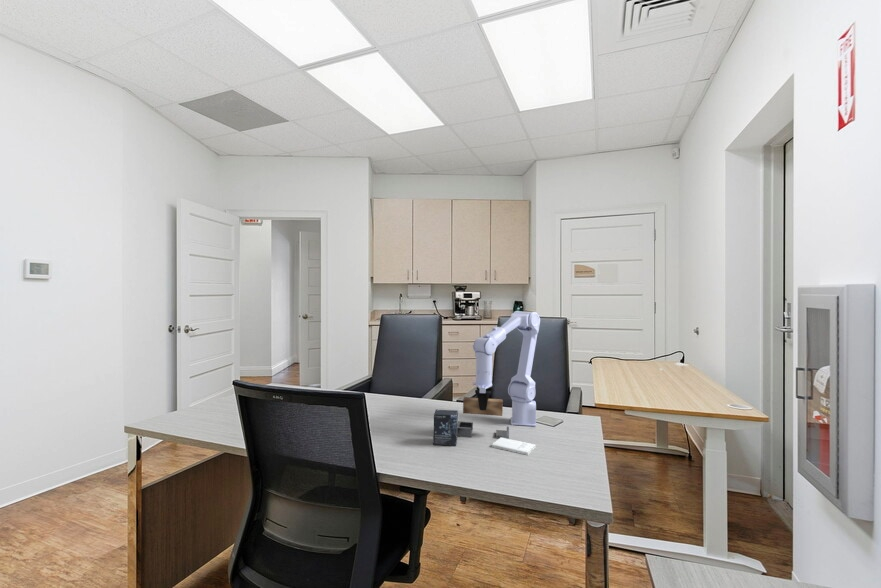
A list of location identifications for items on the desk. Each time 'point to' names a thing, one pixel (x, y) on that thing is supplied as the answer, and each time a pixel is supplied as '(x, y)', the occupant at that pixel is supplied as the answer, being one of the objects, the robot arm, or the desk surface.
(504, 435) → the ledge bracket
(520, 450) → the external hard drive
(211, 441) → the desk surface
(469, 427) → the bracket
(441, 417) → the box
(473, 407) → the wooden block
